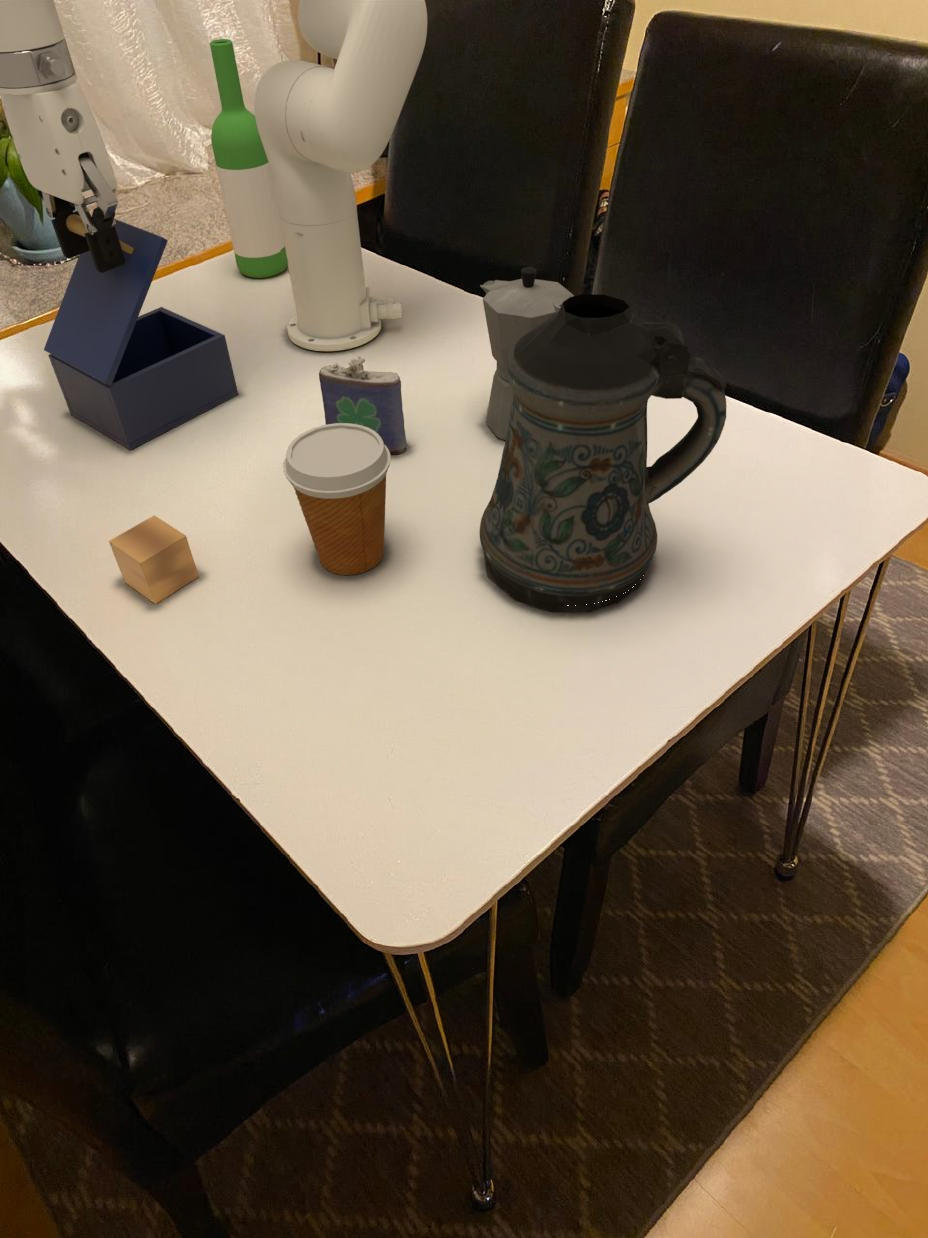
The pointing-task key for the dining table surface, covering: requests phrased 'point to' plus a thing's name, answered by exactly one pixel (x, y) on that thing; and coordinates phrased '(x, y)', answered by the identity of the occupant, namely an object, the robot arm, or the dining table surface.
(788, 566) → the dining table surface
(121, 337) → the lid
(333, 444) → the disposable coffee cup
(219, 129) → the wine bottle
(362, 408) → the flask
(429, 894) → the dining table surface
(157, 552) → the block
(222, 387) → the chest
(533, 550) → the beer stein
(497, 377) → the coffeepot
